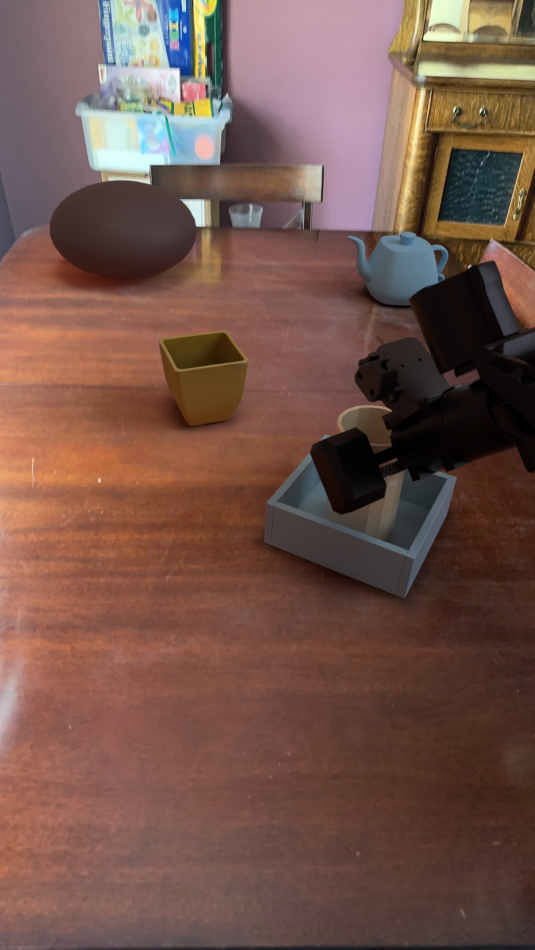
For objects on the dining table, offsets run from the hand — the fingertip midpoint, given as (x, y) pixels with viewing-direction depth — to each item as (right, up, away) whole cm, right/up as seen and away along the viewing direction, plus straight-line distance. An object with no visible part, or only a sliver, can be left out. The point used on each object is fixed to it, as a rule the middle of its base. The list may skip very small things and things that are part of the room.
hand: (358, 464), depth 65 cm
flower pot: (-17, +6, +20) cm, 27 cm away
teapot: (+13, +30, +53) cm, 62 cm away
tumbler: (0, -6, +3) cm, 7 cm away
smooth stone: (-34, +35, +56) cm, 74 cm away
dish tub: (0, -6, +4) cm, 7 cm away
